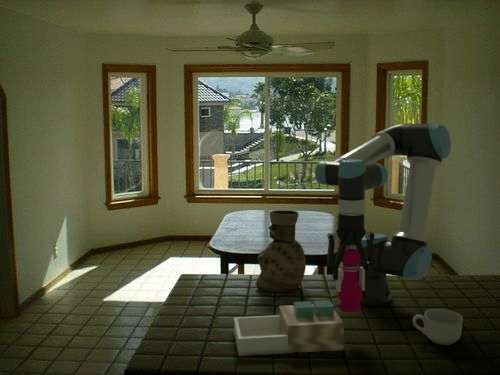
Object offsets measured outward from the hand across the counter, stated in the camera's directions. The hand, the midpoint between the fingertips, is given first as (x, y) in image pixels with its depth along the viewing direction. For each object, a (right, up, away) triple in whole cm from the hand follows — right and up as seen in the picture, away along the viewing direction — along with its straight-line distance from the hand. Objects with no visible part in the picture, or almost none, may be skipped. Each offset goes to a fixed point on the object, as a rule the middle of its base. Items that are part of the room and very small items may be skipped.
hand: (350, 289), depth 162 cm
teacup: (+26, -15, 0) cm, 30 cm away
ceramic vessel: (-18, -9, +48) cm, 52 cm away
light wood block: (-12, -15, +1) cm, 19 cm away
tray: (-27, -16, -1) cm, 31 cm away
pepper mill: (0, -6, +1) cm, 6 cm away
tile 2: (-8, -7, 0) cm, 11 cm away
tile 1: (-14, -7, 0) cm, 16 cm away
